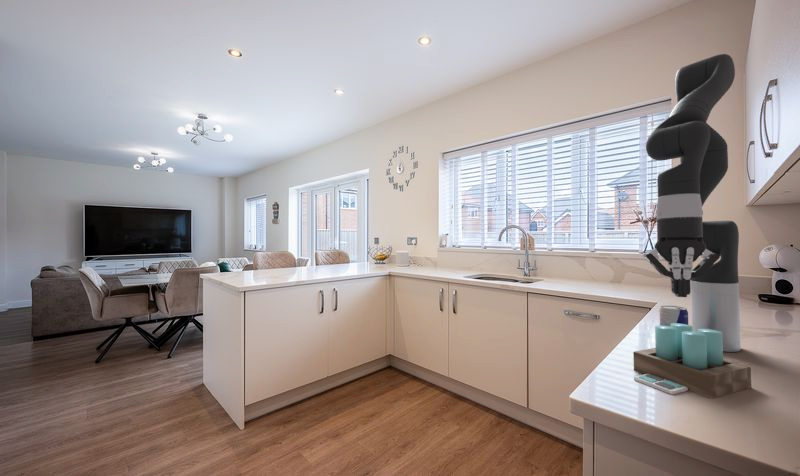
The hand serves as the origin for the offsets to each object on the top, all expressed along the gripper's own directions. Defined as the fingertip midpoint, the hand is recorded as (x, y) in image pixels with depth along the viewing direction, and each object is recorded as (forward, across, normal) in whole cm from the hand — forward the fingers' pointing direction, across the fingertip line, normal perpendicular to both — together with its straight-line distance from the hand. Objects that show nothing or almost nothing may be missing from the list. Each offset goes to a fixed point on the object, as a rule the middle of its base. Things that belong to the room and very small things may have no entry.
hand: (680, 296), depth 70 cm
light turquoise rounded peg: (+14, 0, +7) cm, 15 cm away
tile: (+16, +6, +10) cm, 20 cm away
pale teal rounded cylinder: (+14, +4, +3) cm, 15 cm away
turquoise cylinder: (+14, -4, +3) cm, 15 cm away
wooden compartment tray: (+16, 0, +3) cm, 17 cm away
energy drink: (+16, -2, -11) cm, 20 cm away
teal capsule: (+14, 0, 0) cm, 14 cm away
